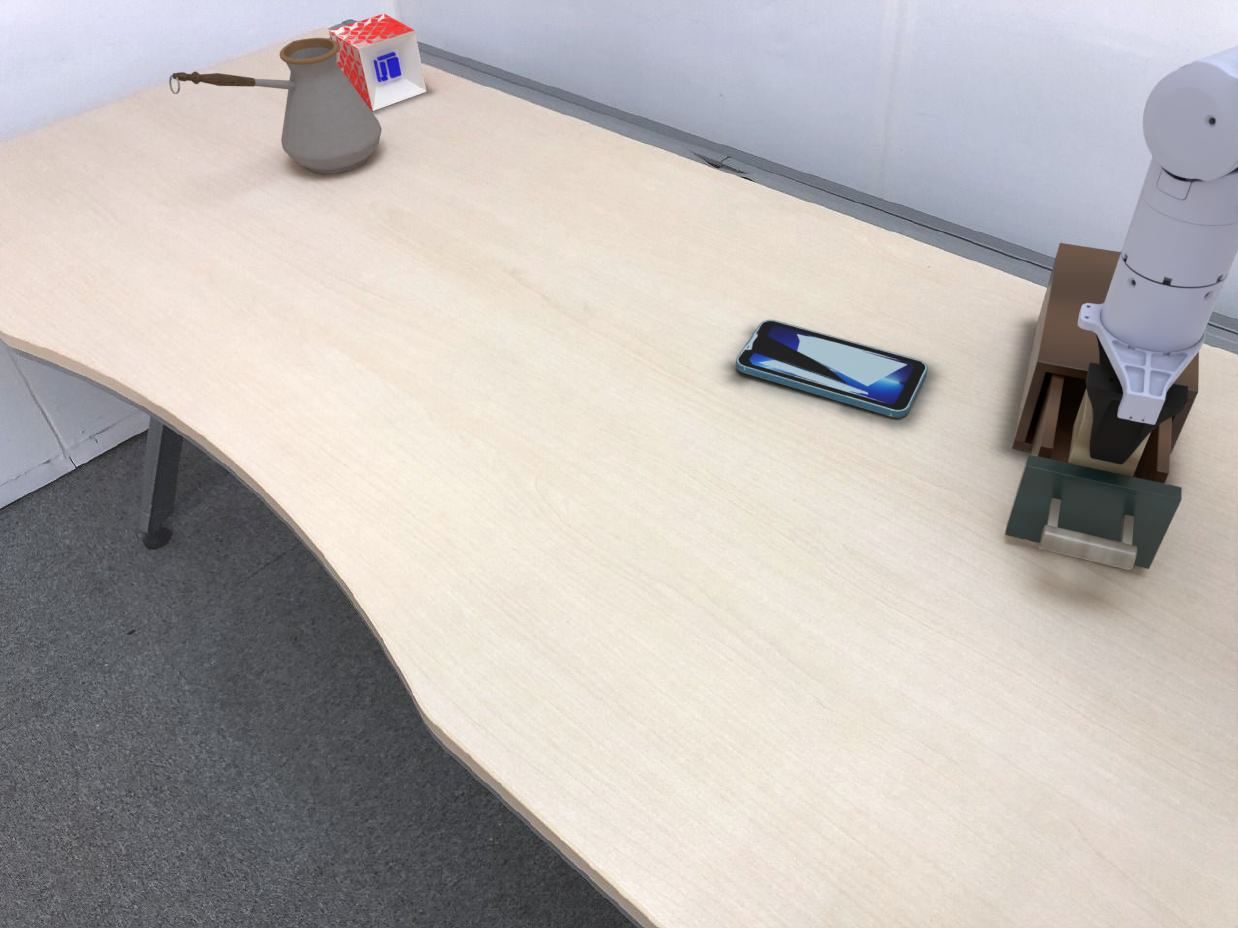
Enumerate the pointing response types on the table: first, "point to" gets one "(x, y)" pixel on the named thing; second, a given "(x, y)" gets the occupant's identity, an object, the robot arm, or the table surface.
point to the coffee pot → (314, 107)
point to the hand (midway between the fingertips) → (1109, 435)
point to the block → (1082, 444)
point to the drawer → (1091, 490)
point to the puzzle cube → (380, 60)
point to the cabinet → (1076, 334)
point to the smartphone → (833, 367)
